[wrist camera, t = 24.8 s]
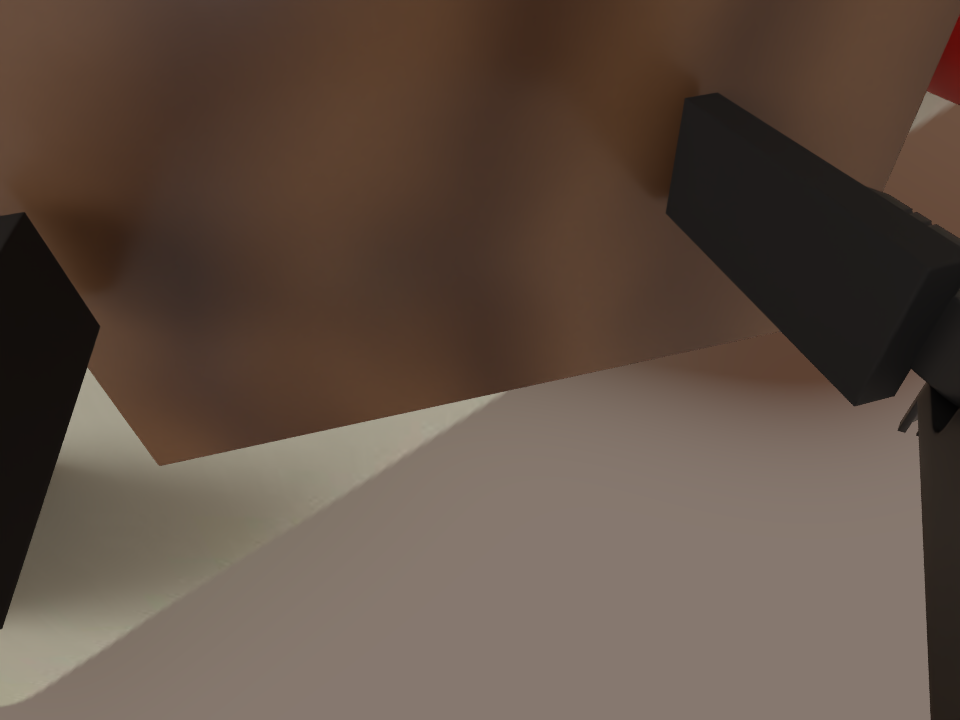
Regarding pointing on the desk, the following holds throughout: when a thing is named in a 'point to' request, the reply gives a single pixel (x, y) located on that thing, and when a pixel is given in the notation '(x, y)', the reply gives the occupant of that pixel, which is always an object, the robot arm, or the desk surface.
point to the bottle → (948, 70)
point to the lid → (408, 186)
